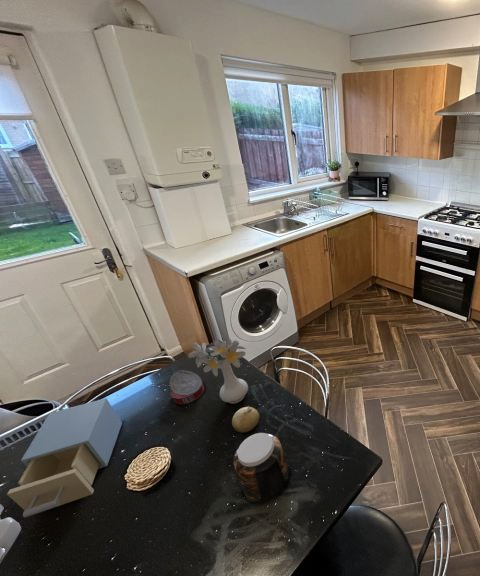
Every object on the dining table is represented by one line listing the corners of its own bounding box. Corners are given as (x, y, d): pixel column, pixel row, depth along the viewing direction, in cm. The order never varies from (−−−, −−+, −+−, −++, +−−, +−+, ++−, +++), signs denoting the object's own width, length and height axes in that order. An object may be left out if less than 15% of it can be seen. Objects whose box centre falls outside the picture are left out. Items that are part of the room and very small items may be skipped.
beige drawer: (85, 512, 78) (65, 491, 73) (20, 536, 74) (-6, 515, 69) (109, 447, 94) (94, 425, 89) (56, 463, 89) (37, 442, 85)
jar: (270, 511, 79) (258, 477, 72) (234, 494, 83) (219, 460, 75) (296, 467, 89) (288, 434, 81) (263, 454, 92) (252, 421, 85)
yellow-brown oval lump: (249, 439, 97) (244, 424, 93) (229, 432, 99) (223, 417, 96) (265, 418, 103) (261, 403, 100) (246, 412, 106) (241, 397, 102)
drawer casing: (107, 466, 90) (87, 440, 84) (45, 486, 85) (20, 460, 79) (122, 422, 102) (106, 397, 97) (69, 438, 98) (49, 413, 92)
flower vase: (218, 383, 117) (198, 330, 105) (266, 384, 116) (251, 331, 104) (198, 412, 106) (173, 356, 94) (251, 414, 105) (233, 358, 93)
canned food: (197, 391, 120) (203, 367, 119) (204, 404, 113) (210, 379, 112) (162, 394, 112) (168, 369, 111) (167, 409, 105) (173, 382, 104)
